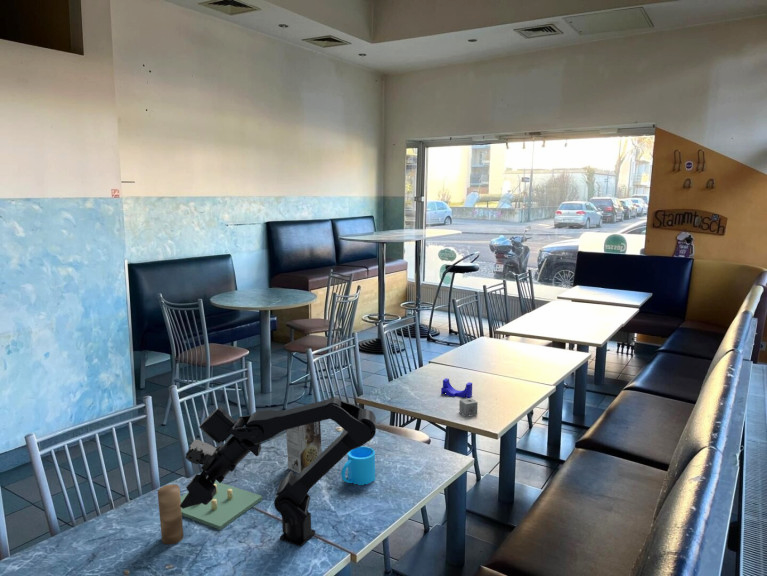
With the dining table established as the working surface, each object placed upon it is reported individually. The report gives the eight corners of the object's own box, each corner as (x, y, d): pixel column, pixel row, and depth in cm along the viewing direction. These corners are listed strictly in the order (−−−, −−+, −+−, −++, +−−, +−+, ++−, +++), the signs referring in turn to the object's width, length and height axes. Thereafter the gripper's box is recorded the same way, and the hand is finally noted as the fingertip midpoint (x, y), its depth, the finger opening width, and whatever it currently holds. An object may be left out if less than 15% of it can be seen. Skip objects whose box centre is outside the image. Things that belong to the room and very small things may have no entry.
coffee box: (308, 457, 177) (306, 410, 175) (322, 463, 173) (321, 415, 171) (286, 468, 170) (284, 419, 168) (301, 475, 166) (299, 424, 164)
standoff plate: (262, 499, 153) (261, 487, 153) (220, 530, 139) (219, 517, 139) (210, 482, 163) (209, 471, 162) (165, 509, 149) (164, 497, 148)
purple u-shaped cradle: (441, 394, 232) (441, 381, 231) (445, 391, 236) (445, 378, 235) (467, 400, 226) (468, 386, 225) (472, 396, 230) (472, 382, 229)
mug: (361, 468, 170) (361, 443, 169) (381, 477, 164) (380, 452, 163) (332, 483, 161) (331, 457, 160) (351, 493, 156) (351, 466, 154)
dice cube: (477, 414, 211) (477, 402, 210) (465, 416, 209) (466, 404, 208) (470, 410, 215) (470, 397, 214) (459, 412, 213) (459, 399, 212)
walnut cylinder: (187, 535, 137) (184, 487, 135) (171, 546, 133) (167, 497, 131) (173, 530, 140) (169, 482, 137) (157, 540, 135) (153, 492, 133)
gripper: (217, 416, 141) (176, 456, 143) (193, 449, 122) (147, 495, 124) (249, 444, 142) (209, 484, 144) (230, 482, 124) (184, 527, 126)
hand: (188, 496), depth 134 cm, fingers open, 9 cm apart
